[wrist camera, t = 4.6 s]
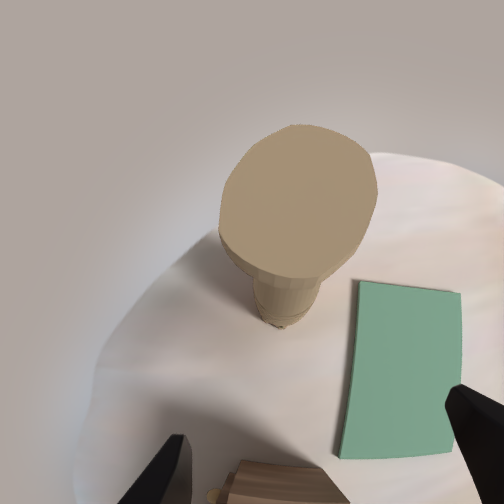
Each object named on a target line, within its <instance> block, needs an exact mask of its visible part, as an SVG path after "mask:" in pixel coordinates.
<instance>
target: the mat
mask: <svg viewBox="0 0 504 504" xmlns="http://www.w3.org/2000/svg"><path fill="white" fill-rule="evenodd" d="M461 366H462V312H461V294H460V293H453V292H445V291H436V290H428V289H420V288H412V287H403V286H395V285H387V284H380V283H372V282H364V281H360V282H359V283H358V302H357V317H356V331H355V342H354V353H353V362H352V371H351V380H350V387H349V395H348V402H347V409H346V415H345V421H344V427H343V433H342V439H341V444H340V449H339V454H338V458H339V459H386V458H403V457H415V456H424V455H433V454H440V453H447V452H452V447H453V442H454V433H453V430H452V427H451V424H450V421H449V418H448V415H447V413H446V410H445V401H446V398H447V396H448V394H449V391H450V389H451V388H452V387H453V386H456V385H458V384H461Z"/></svg>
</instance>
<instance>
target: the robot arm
mask: <svg viewBox="0 0 504 504" xmlns="http://www.w3.org/2000/svg"><path fill="white" fill-rule="evenodd" d="M445 410H446V413H447V415H448V418H449V421H450V424H451V427H452V430H453V433H454V436H455V439H456V441H457V444H458V446H459V448H460V450H461V453H462V455H463V457H464V460H465V462H466V464H467V467H468V469H469V471H470V474H471V476H472V479H473V481H474V484H475V486H476V489H477V491H478V494H479V496H480V499H481V502H482V504H504V405H502V404H500V403H498V402H496V401H494V400H492V399H490V398H488V397H486V396H484V395H482V394H480V393H479V392H477V391H475V390H473V389H471V388H469V387H467V386H465V385H463V384H458V385H456V386H453V387H452V388H451V389H450V391H449V394H448V396H447V398H446V401H445ZM191 498H192V449H191V446H190V444H189V442H188V439H187V437H186V435H184V434H172V435H171V436H170V437H169V439H168V440H167V441H166V442H165V444H164V445H163V446H162V448H161V449H160V450H159V452H158V453H157V454H156V456H155V457H154V458H153V459H152V461H151V462H150V463H149V465H148V466H147V467H146V468H145V470H144V471H143V472H142V473H141V475H140V476H139V477H138V478H137V480H136V481H135V482H134V483H133V485H132V486H131V487H130V488H129V490H128V491H127V492H126V493H125V495H124V496H123V497H122V498H121V500H120V501H119V502H118V503H117V504H191Z"/></svg>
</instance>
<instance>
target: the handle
mask: <svg viewBox="0 0 504 504" xmlns="http://www.w3.org/2000/svg"><path fill="white" fill-rule="evenodd" d="M377 195H378V191H377V181H376V177H375V172H374V168H373V165H372V161H371V158H370V155H369V154H368V153H367V152H366V151H365V150H364V148H362V147H361V146H360V145H359V144H357V143H356V142H355V141H353V140H351V139H350V138H348V137H346V136H344V135H342V134H340V133H337V132H335V131H332V130H329V129H325V128H322V127H317V126H312V125H290V126H288V127H285V128H283V129H281V130H279V131H277V132H275V133H273V134H271V135H269V136H267V137H265V138H264V139H262V140H261V141H259V142H258V143H256V144H255V145H253V146H252V147H251V149H249V150H248V152H247V153H246V154H245V155H244V156H243V158H242V159H241V160H240V162H239V163H238V165H237V166H236V167H235V168H234V170H233V171H232V173H231V174H230V176H229V178H228V180H227V181H226V183H225V187H224V191H223V194H222V201H221V208H220V219H219V228H218V231H219V235H220V239H221V242H222V245H223V247H224V248H225V250H226V252H227V254H228V255H229V257H230V258H231V259H232V261H233V262H234V263H235V264H236V265H237V266H238V267H239V268H240V269H242V270H243V271H244V272H245V273H246V274H248V275H250V276H252V277H253V290H254V298H255V302H256V305H257V308H258V310H259V312H260V314H261V317H262V319H263V320H264V322H265V323H271V324H273V325H275V326H276V327H277V328H278V329H285V328H286V327H287V326H289V325H292V324H294V323H296V322H297V321H299V320H300V319H301V318H302V317H303V316H304V315H305V314H306V313H307V311H308V310H309V309H310V307H311V306H312V304H313V302H314V300H315V299H316V297H317V294H318V291H319V288H320V285H321V282H323V281H324V280H325V279H327V278H328V277H329V276H330V275H332V274H333V273H334V272H335V271H336V270H338V269H339V268H340V267H341V266H342V265H343V264H344V263H345V262H346V261H347V260H348V259H349V258H350V257H352V256H353V255H354V253H355V252H356V250H357V248H358V247H359V245H360V243H361V241H362V239H363V237H364V235H365V233H366V230H367V228H368V226H369V223H370V220H371V217H372V214H373V211H374V208H375V205H376V201H377Z"/></svg>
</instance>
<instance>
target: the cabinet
mask: <svg viewBox="0 0 504 504" xmlns="http://www.w3.org/2000/svg"><path fill="white" fill-rule="evenodd" d="M207 500H208V501H209V502H210V503H211V504H350V502H349V501H348V499H347V498H346V497H345V496H344V495H343V493H342V492H341V491H340V490H339V489H338V487H337V486H336V485H335V484H334V482H333V481H332V480H331V479H330V478H329V476H328V475H327V474H326V473H325V471H324V470H323V469H318V468H302V467H291V466H281V465H272V464H265V463H258V462H251V461H245V460H241V462H240V465H239V467H238V470H237V473H236V474H234V473H229V475H228V477H227V479H226V481H225V484H224V486H223V488H222V490H221V489H212V490H210V491H209V492H208V493H207Z"/></svg>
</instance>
